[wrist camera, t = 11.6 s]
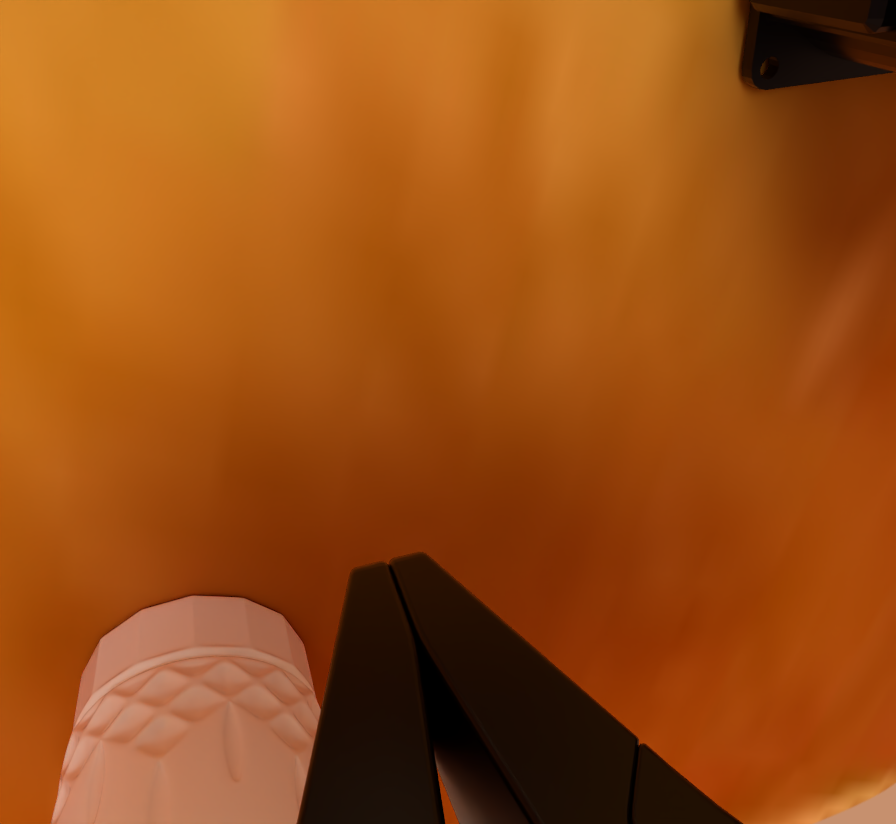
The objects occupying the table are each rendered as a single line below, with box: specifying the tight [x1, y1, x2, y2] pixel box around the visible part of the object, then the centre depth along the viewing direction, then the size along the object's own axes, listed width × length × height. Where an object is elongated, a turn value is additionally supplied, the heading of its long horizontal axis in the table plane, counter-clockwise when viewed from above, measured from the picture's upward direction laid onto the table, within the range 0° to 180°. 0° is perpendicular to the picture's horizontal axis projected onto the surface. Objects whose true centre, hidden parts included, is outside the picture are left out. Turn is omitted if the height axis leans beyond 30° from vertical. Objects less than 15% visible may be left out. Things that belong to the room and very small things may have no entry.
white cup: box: [51, 595, 321, 824], centre depth 22 cm, size 8×8×10 cm
